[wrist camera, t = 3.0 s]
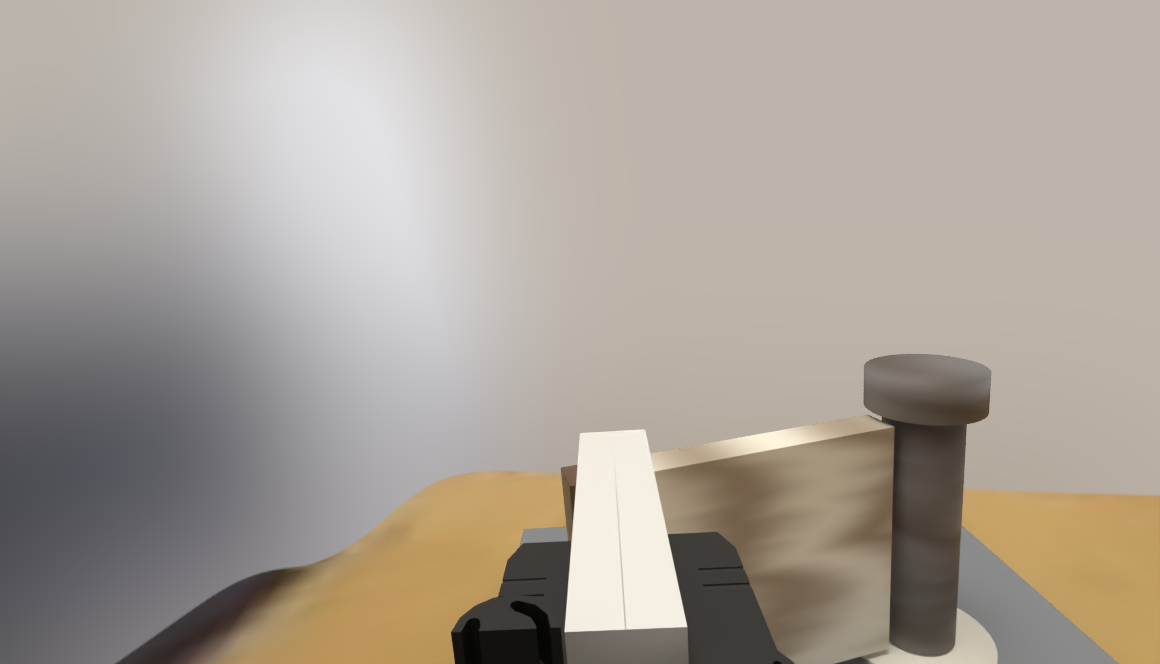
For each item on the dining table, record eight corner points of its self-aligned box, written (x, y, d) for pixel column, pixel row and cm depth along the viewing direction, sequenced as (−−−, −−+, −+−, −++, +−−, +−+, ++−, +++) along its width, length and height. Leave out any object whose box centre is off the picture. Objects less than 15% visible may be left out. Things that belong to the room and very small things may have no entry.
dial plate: (937, 526, 37) (938, 501, 37) (1357, 925, 16) (1368, 877, 16) (526, 550, 38) (523, 526, 38) (440, 947, 18) (432, 903, 17)
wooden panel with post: (919, 589, 29) (928, 349, 26) (1001, 653, 25) (1020, 373, 22) (576, 676, 25) (549, 408, 23) (603, 768, 21) (573, 451, 19)
